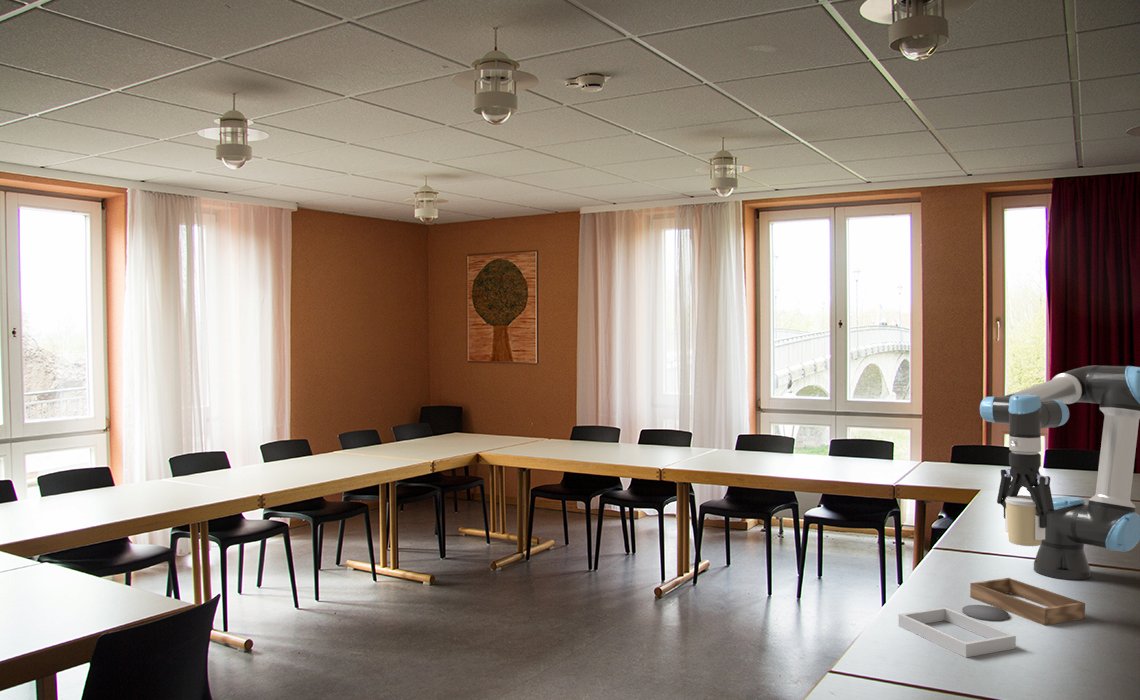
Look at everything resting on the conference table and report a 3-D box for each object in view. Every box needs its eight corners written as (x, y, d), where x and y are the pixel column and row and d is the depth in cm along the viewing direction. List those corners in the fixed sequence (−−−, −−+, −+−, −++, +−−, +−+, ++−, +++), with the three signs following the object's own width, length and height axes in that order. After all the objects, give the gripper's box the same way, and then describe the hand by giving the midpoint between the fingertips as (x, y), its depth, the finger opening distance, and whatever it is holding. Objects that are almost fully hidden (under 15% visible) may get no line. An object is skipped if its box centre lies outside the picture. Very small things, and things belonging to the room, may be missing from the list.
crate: (1008, 591, 239) (1008, 577, 239) (1085, 618, 216) (1085, 603, 216) (970, 597, 234) (970, 583, 234) (1044, 625, 212) (1044, 609, 212)
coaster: (984, 605, 228) (984, 602, 228) (1018, 617, 217) (1018, 615, 217) (953, 609, 224) (953, 607, 224) (985, 623, 214) (985, 620, 214)
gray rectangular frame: (945, 618, 218) (945, 607, 218) (1015, 648, 197) (1015, 635, 197) (898, 625, 213) (898, 614, 213) (965, 657, 192) (965, 644, 192)
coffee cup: (1050, 547, 219) (1050, 502, 219) (1011, 546, 221) (1011, 501, 221) (1037, 539, 229) (1037, 495, 228) (1000, 537, 231) (1000, 494, 230)
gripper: (981, 447, 233) (982, 527, 234) (1049, 458, 213) (1049, 546, 214) (1002, 446, 236) (1002, 525, 236) (1071, 456, 215) (1071, 543, 216)
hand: (1024, 535), depth 225 cm, fingers closed on coffee cup, 9 cm apart
